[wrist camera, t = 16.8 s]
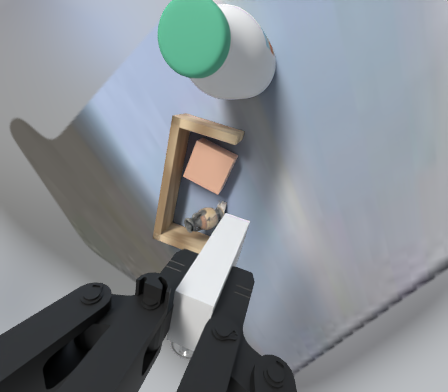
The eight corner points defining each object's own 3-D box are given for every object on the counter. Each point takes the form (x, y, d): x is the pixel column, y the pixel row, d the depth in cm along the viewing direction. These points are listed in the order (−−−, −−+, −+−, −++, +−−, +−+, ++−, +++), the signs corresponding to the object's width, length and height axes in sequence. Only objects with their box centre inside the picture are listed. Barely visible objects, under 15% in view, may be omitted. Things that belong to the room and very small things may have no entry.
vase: (195, 224, 45) (180, 239, 39) (196, 194, 43) (181, 206, 38) (225, 229, 43) (214, 246, 38) (227, 199, 42) (216, 212, 36)
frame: (244, 131, 37) (238, 136, 33) (212, 243, 45) (204, 258, 41) (185, 113, 38) (172, 115, 34) (165, 225, 46) (152, 238, 42)
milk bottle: (285, 82, 33) (271, 68, 15) (232, 108, 36) (168, 122, 18) (262, 19, 31) (217, -80, 13) (208, 52, 34) (112, 6, 16)
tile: (238, 155, 39) (234, 159, 36) (223, 188, 41) (218, 194, 38) (203, 137, 39) (196, 140, 36) (190, 171, 42) (183, 176, 39)
